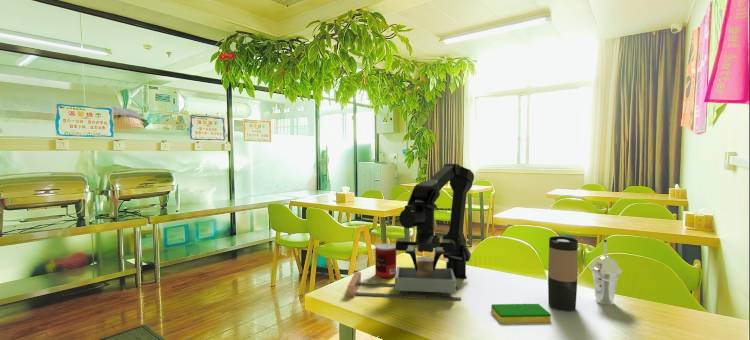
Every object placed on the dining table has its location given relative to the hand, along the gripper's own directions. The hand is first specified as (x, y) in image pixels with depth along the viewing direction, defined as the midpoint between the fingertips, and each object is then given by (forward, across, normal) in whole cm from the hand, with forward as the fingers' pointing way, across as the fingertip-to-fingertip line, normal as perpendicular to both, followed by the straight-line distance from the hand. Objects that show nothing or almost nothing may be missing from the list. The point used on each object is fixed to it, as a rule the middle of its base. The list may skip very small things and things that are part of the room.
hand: (424, 271), depth 117 cm
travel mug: (+7, +40, -6) cm, 41 cm away
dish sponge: (+8, +26, -14) cm, 30 cm away
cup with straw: (+7, +54, -1) cm, 54 cm away
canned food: (+7, -14, +15) cm, 22 cm away
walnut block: (+1, 0, 0) cm, 1 cm away
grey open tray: (+7, 0, 0) cm, 7 cm away
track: (+7, -6, 0) cm, 9 cm away
